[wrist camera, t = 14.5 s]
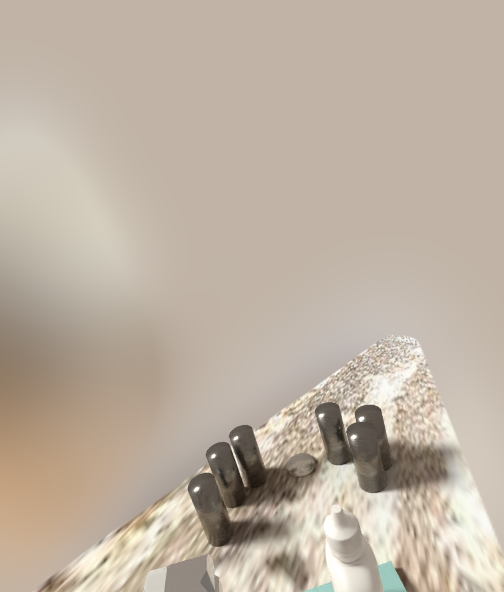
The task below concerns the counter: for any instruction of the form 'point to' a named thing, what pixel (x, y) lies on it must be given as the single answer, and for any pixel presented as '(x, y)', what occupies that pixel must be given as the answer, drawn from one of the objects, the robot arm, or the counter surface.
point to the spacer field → (228, 483)
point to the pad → (389, 577)
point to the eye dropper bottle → (349, 554)
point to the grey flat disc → (301, 465)
